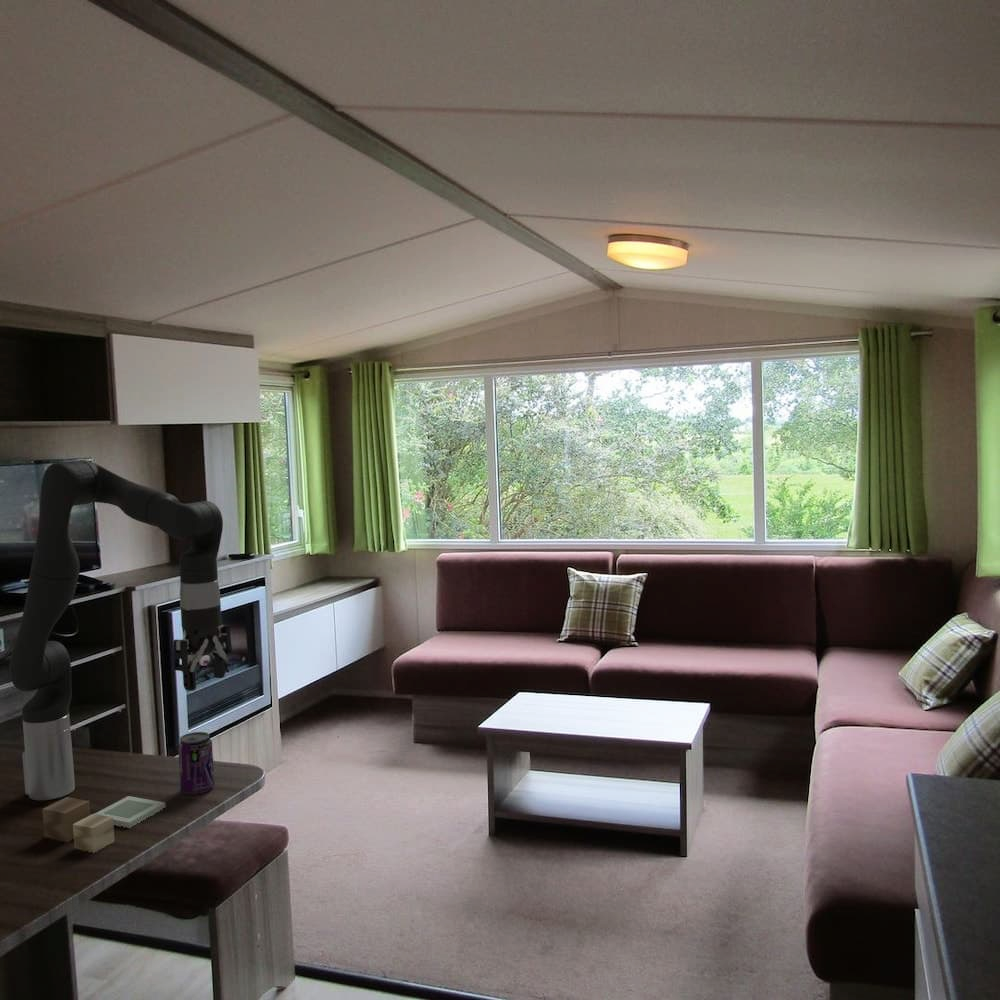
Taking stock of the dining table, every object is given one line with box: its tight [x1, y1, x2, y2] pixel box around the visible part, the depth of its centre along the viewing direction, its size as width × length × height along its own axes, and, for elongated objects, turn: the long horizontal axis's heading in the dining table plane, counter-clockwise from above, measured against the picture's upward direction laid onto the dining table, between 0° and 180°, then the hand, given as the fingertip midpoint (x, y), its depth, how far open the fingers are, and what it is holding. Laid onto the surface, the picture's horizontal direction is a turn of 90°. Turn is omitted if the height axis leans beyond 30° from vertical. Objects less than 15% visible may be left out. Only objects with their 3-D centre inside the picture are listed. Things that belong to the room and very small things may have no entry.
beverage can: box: [177, 731, 216, 795], centre depth 206 cm, size 7×7×12 cm
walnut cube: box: [41, 796, 92, 843], centre depth 187 cm, size 6×6×6 cm
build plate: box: [94, 795, 166, 829], centre depth 195 cm, size 10×10×1 cm
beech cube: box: [73, 813, 115, 854], centre depth 181 cm, size 5×5×5 cm
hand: (205, 683), depth 187 cm, fingers open, 8 cm apart
